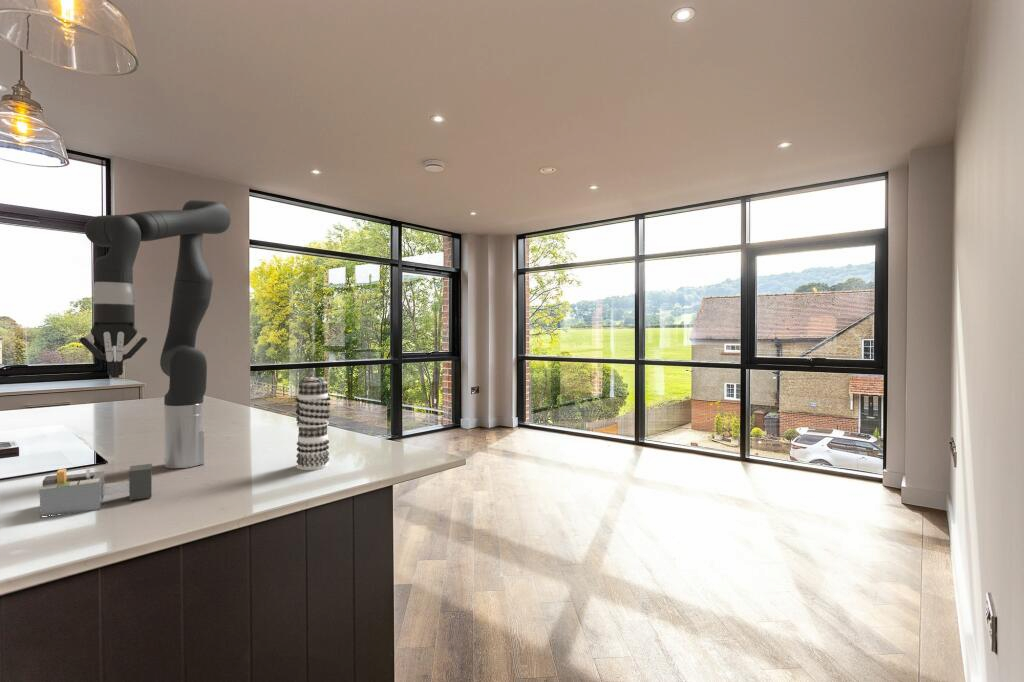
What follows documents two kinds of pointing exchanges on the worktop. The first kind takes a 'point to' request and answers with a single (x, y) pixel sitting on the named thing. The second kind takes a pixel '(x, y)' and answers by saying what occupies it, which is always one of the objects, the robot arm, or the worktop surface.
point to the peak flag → (61, 475)
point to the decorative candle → (312, 423)
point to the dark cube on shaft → (131, 483)
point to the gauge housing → (71, 494)
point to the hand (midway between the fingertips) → (115, 377)
